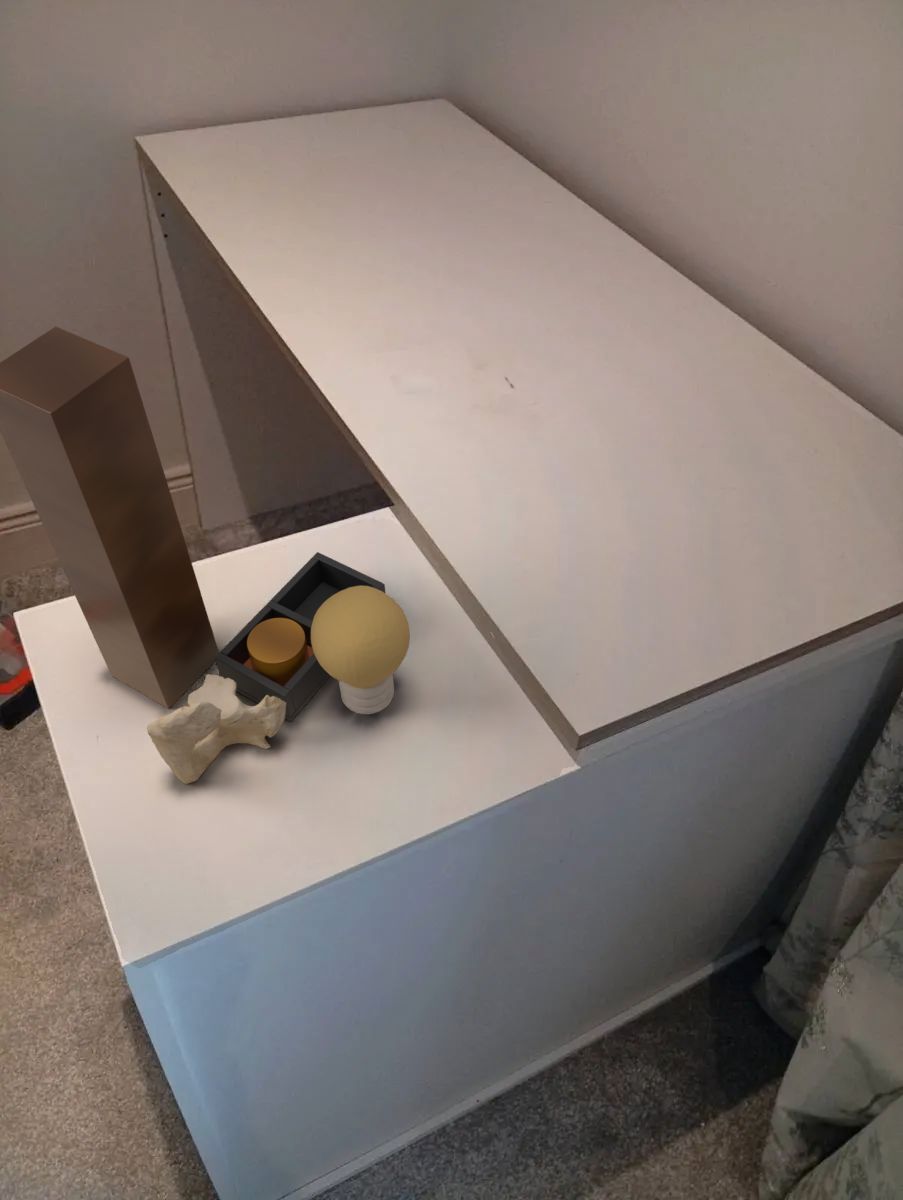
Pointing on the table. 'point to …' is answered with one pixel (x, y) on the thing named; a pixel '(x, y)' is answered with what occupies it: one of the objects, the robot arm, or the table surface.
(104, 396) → the block
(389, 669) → the light bulb
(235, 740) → the bone
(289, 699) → the dark grey open box
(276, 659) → the cylinder
